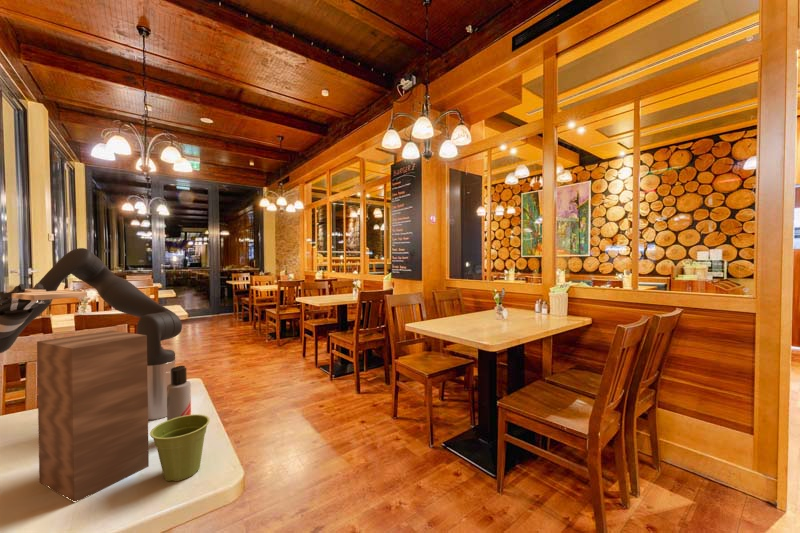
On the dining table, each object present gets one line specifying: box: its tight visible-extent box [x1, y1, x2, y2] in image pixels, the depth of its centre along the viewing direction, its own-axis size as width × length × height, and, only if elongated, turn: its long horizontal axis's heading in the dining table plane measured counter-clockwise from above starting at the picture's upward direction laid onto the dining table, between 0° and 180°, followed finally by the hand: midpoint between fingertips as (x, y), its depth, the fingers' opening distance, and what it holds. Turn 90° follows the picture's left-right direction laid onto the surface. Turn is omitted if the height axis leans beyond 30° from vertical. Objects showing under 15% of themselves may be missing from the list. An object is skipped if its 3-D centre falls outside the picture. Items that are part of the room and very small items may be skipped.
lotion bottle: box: [166, 365, 192, 421], centre depth 97 cm, size 6×6×20 cm
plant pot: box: [149, 414, 210, 482], centre depth 80 cm, size 12×12×11 cm
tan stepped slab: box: [12, 288, 88, 300], centre depth 91 cm, size 23×10×2 cm, turn 65°
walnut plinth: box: [36, 329, 150, 501], centre depth 80 cm, size 16×14×32 cm
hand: (31, 286), depth 93 cm, fingers closed on tan stepped slab, 2 cm apart
